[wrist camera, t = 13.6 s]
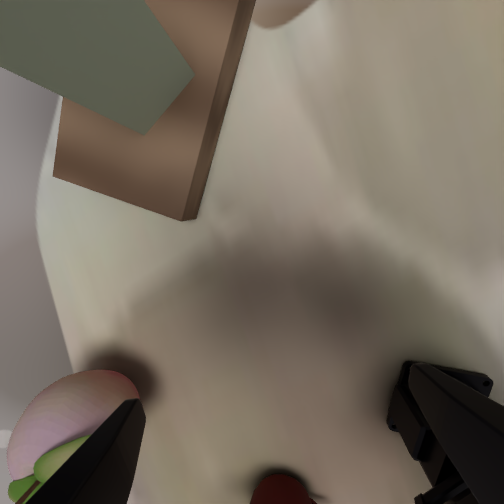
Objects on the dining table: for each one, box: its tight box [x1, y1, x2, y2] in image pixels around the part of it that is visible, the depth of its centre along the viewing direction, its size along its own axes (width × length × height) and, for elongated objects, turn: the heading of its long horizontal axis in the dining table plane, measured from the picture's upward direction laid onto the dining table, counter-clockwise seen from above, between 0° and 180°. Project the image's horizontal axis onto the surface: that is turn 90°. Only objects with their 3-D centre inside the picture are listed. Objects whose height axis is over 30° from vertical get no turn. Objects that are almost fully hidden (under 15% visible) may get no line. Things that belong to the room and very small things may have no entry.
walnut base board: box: [53, 0, 256, 221], centre depth 17 cm, size 16×10×3 cm, turn 162°
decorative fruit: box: [7, 370, 140, 504], centre depth 20 cm, size 9×8×10 cm
